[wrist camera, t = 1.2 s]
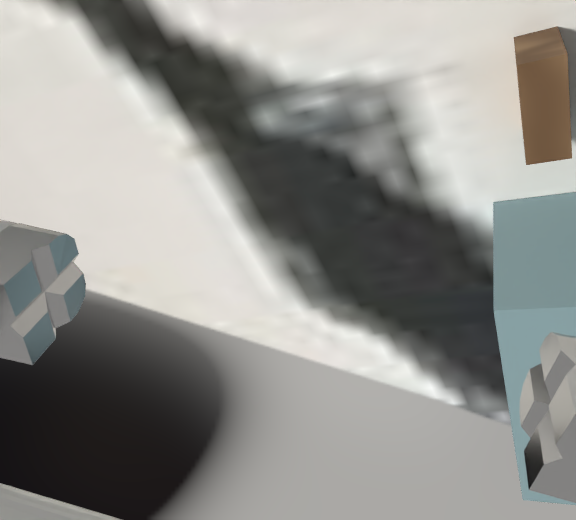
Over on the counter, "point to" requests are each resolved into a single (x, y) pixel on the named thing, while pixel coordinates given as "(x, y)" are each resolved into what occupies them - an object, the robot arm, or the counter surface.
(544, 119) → the brown rectangular block
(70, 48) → the counter surface
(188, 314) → the counter surface
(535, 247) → the box
